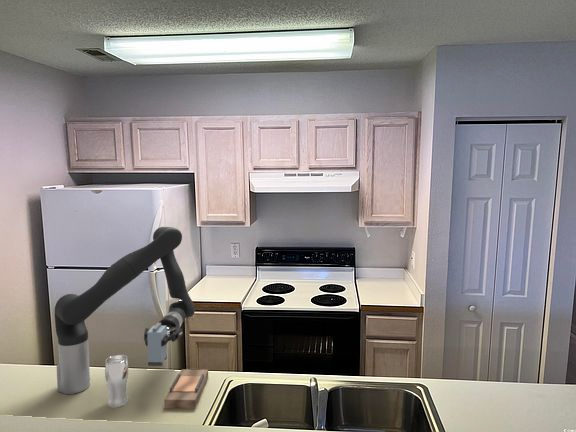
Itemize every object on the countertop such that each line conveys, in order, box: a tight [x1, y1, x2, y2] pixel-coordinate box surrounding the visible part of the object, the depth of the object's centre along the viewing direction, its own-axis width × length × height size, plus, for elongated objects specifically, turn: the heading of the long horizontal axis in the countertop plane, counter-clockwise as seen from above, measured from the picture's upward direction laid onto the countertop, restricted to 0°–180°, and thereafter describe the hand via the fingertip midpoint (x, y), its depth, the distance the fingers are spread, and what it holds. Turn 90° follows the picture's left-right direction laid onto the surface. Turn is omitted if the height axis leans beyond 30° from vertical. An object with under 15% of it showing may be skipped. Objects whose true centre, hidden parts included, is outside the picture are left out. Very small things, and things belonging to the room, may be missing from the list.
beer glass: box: [104, 354, 129, 409], centre depth 128 cm, size 7×7×15 cm
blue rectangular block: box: [147, 322, 168, 367], centre depth 133 cm, size 4×6×13 cm
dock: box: [164, 368, 209, 410], centre depth 135 cm, size 10×20×4 cm, turn 0°
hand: (154, 343), depth 130 cm, fingers closed on blue rectangular block, 4 cm apart
